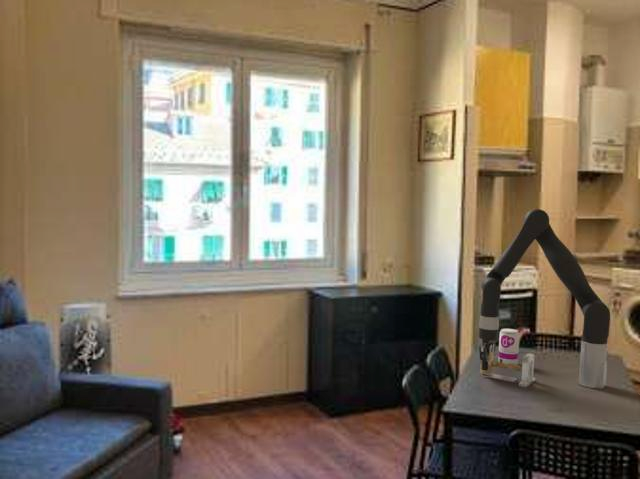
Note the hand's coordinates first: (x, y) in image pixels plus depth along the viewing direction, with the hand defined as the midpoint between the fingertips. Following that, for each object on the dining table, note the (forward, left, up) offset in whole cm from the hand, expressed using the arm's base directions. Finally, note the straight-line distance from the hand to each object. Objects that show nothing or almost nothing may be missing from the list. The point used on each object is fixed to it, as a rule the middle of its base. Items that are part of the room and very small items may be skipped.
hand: (486, 368), depth 259 cm
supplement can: (-1, -24, -3) cm, 24 cm away
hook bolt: (-7, 0, -2) cm, 7 cm away
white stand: (-8, 0, -3) cm, 9 cm away
